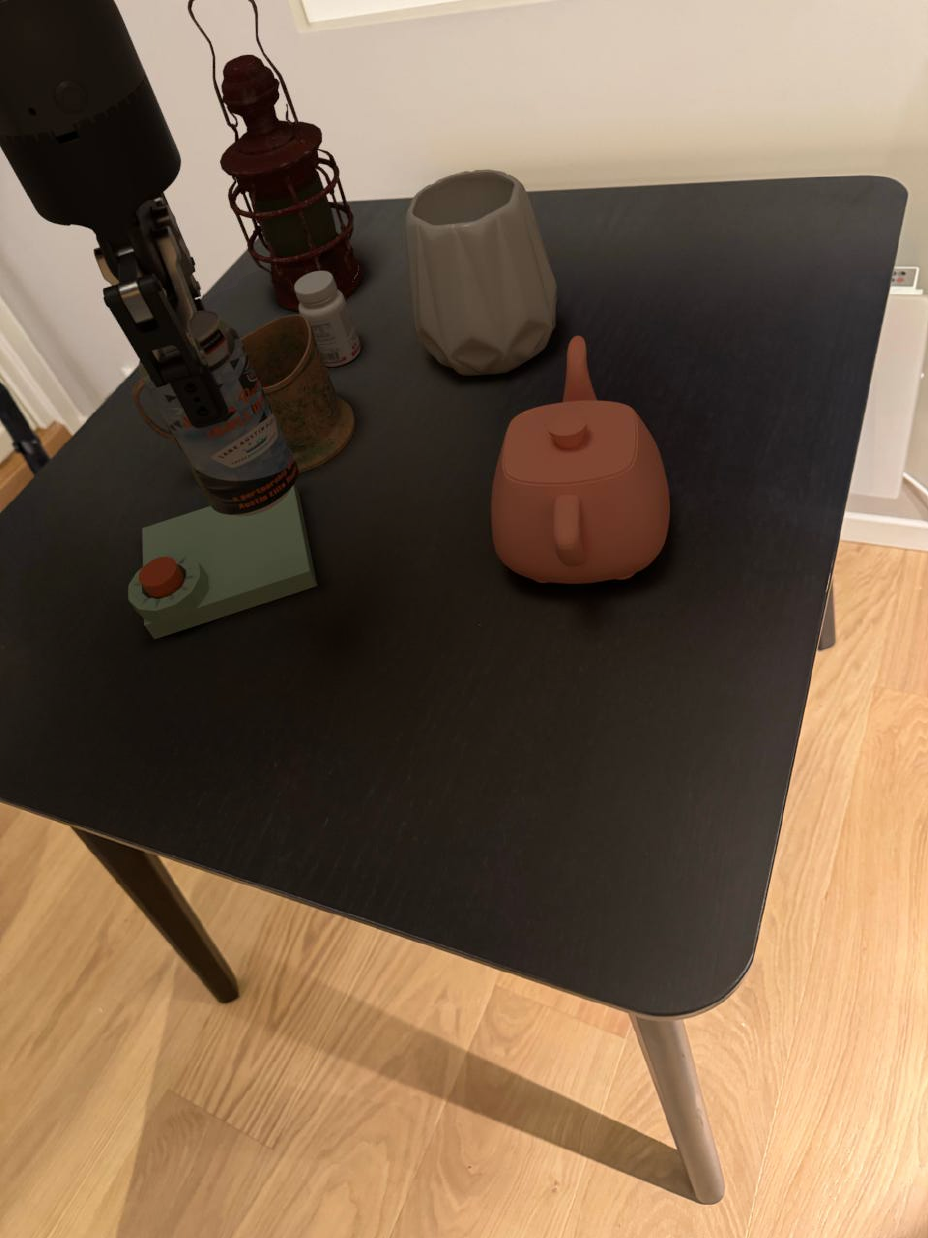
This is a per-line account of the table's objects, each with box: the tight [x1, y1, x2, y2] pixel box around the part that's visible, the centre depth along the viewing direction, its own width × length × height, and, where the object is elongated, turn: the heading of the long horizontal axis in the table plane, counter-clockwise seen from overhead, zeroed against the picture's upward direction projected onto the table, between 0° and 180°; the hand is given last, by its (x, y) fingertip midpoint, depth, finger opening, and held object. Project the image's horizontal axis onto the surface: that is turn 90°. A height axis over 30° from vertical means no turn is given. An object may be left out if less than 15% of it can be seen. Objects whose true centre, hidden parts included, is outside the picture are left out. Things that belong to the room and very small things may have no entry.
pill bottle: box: [294, 271, 361, 368], centre depth 94 cm, size 5×5×8 cm
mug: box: [131, 313, 356, 474], centre depth 85 cm, size 12×18×12 cm, turn 117°
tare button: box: [139, 557, 184, 599], centre depth 75 cm, size 3×3×2 cm
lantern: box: [186, 0, 364, 312], centre depth 96 cm, size 12×12×30 cm
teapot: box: [490, 335, 671, 585], centre depth 69 cm, size 13×20×12 cm, turn 173°
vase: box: [404, 169, 558, 377], centre depth 87 cm, size 14×14×15 cm
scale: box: [127, 483, 318, 640], centre depth 79 cm, size 14×13×4 cm
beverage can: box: [138, 310, 300, 516], centre depth 56 cm, size 6×7×12 cm
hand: (209, 388), depth 55 cm, fingers closed on beverage can, 6 cm apart
